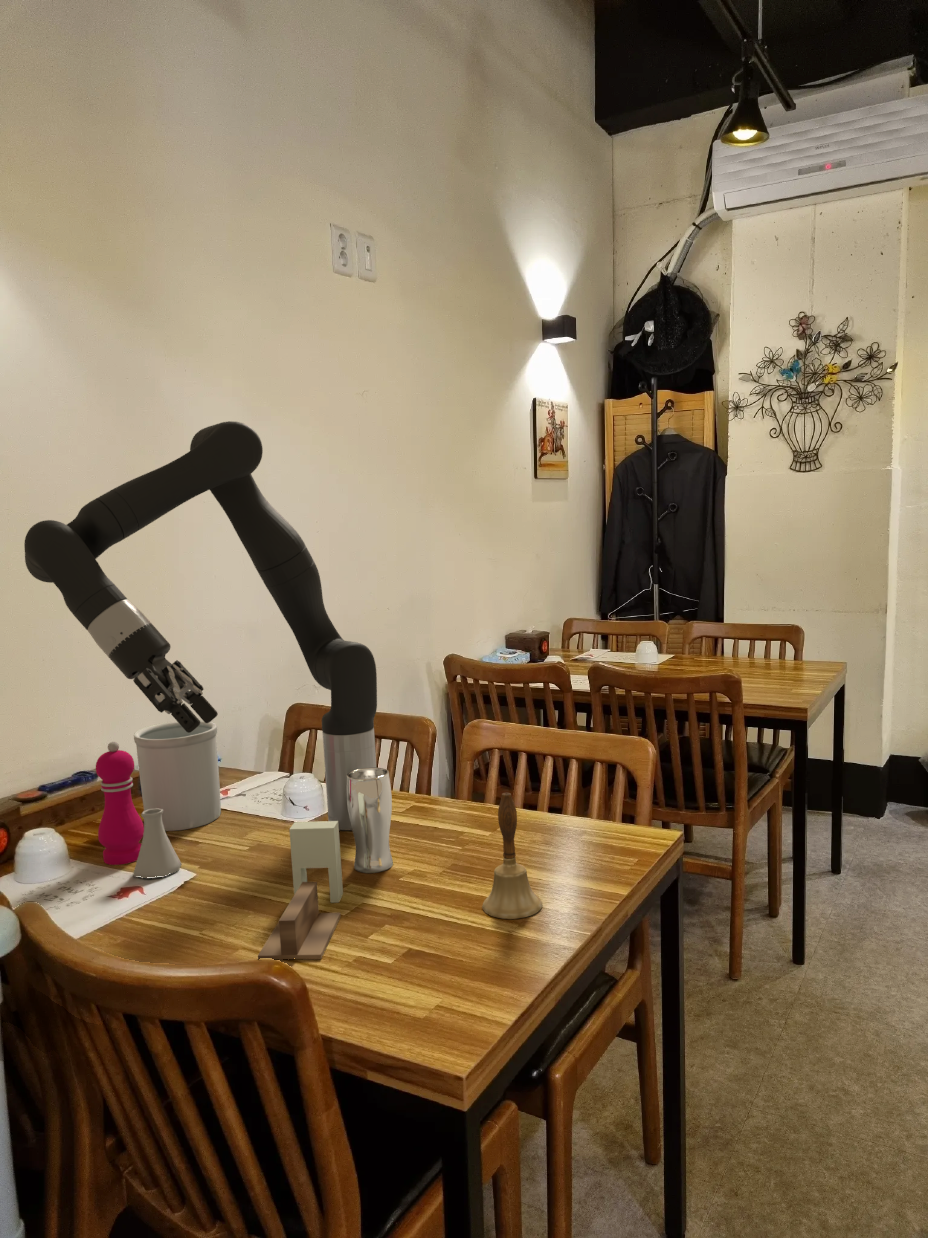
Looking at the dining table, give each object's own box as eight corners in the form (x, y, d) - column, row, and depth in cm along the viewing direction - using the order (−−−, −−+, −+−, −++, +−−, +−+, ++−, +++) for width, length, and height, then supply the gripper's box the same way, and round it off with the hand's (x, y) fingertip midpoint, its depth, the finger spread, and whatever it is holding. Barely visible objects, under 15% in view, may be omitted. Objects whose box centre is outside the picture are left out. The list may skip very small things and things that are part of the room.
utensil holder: (211, 831, 162) (203, 736, 160) (129, 834, 162) (121, 740, 160) (233, 805, 176) (226, 718, 174) (158, 808, 177) (150, 721, 175)
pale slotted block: (294, 903, 128) (289, 829, 127) (300, 894, 131) (294, 822, 130) (338, 902, 128) (333, 828, 126) (343, 894, 130) (338, 821, 129)
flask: (166, 881, 139) (160, 819, 138) (124, 880, 140) (118, 818, 139) (189, 863, 146) (184, 804, 145) (149, 862, 147) (144, 803, 146)
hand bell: (470, 906, 124) (464, 794, 123) (515, 889, 129) (510, 781, 127) (508, 925, 118) (503, 808, 116) (554, 907, 123) (550, 794, 121)
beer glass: (403, 860, 142) (398, 768, 141) (381, 877, 136) (375, 781, 135) (366, 855, 145) (360, 765, 144) (343, 871, 139) (336, 777, 138)
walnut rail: (283, 918, 123) (280, 882, 123) (340, 916, 123) (338, 881, 122) (258, 960, 111) (255, 921, 111) (321, 959, 111) (318, 920, 110)
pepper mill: (155, 852, 152) (145, 737, 150) (126, 868, 145) (115, 748, 143) (121, 849, 154) (110, 735, 152) (91, 864, 148) (79, 746, 146)
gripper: (129, 624, 120) (209, 714, 121) (165, 619, 135) (236, 700, 135) (88, 660, 121) (168, 750, 121) (128, 652, 135) (199, 732, 135)
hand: (204, 723), depth 128 cm, fingers open, 8 cm apart
